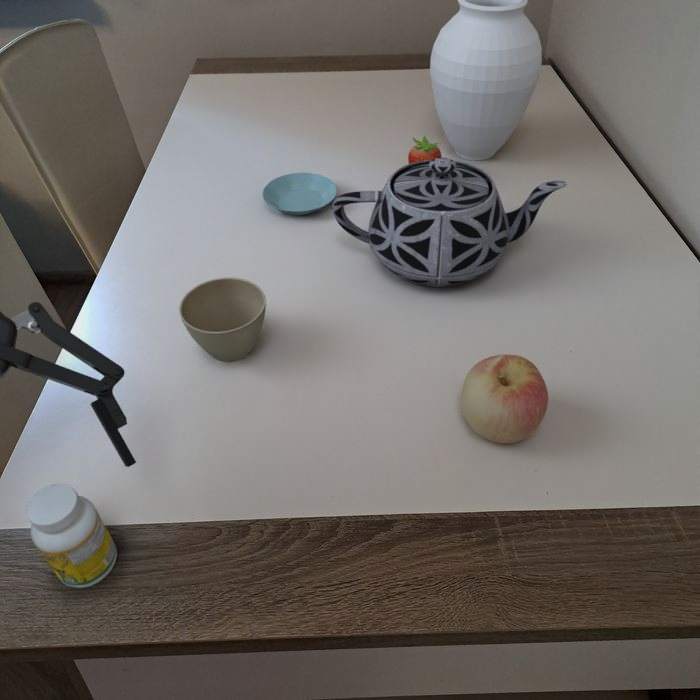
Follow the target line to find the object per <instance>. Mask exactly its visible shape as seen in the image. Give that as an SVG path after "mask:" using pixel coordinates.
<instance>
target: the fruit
mask: <svg viewBox="0 0 700 700" xmlns="http://www.w3.org/2000/svg"><path fill="white" fill-rule="evenodd" d="M412 140H413V142H414V143H415V144H416V145H414V146H413V147H412V148H410V150H409V152H408V157H407V161H408V164H411V163H414V162H418V161H424V160H433V159H436V158H442V152H441V150H440V148H439V146H438V145H439V143H440V141H439V142H433V143H431V142H429V140H428V139H427V137H426V135H423V137H422V141H420V140H417V139H415V137H412Z"/></svg>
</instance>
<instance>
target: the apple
mask: <svg viewBox="0 0 700 700" xmlns="http://www.w3.org/2000/svg"><path fill="white" fill-rule="evenodd" d="M460 404H461V405H460V406H461V412H462V415H463V418H464V419H465V421H466V423H467V424H468V425H469V427H470V428H471V429H472V430H473V431H474V432H475V433H477V434H478V435H479V436H481V437H482V438H484V439H486V440H489V441H490V442H491V441H492V442H494V443H498V444H514V443H517V442H521V441H523V440H524V439H526V438H528V437H530V435H532V434H533V433H534V432H535V431H536V430H537V428H539V426H540V424H541V423H542V422H543V420H544V417H545V415H546V413H547V409H548V406H549V391H548V388H547V385H546V382H545V379H544V376H542V374H541V371H540V370H539V368H538V367H537V366H536V365H535V364H534V363H533V362H532V361H530V360H529V359H527V358H525V357H523V356H521V355H517V354H497V355H492V356H489V357H487V358H484V359H482V360H480V361H478V362H477V363H476V364H475V365H473V367H472V368H471V369H470V370H469V371H468V373H467V375H466V376H465V378H464V379H463V382H462V386H461V392H460Z"/></svg>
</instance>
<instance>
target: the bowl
mask: <svg viewBox="0 0 700 700" xmlns="http://www.w3.org/2000/svg"><path fill="white" fill-rule="evenodd" d="M266 299H267V298H266V295H265V293H264V290H263V289H262V288H261V287H260V286H259V285H258V284H256V283H254V282H253V281H251V280H247V279H245V278H241V277H233V276H231V277H229V276H228V277H217V278H213V279H209V280H205V281H203V282H201V283H198V285H196V286H194V287H192V288H191V289H190V290H189V291H187V292H186V293H185V294H184V296H183V297H182V299H181V301H180V304H179V306H178V307H179V308H178V313H179V316H180V319H181V321H182V323H183V326H184V327H185V329H186V331H187V332H188V334H189V335H190V337H191V338H192V339H193V341H194V342H195V343H196V344H197V345H198V346H199V347H200V348H201V349H202V350H203V351H204V352H206V354H209V355H210V356H211V357H213V358H215V359H217V360H219V361H220V362H221V361H222V362H235V361H239V360H241V359H244V358H245V357H246V356H247V355H248V354H249V353H250V352H251V351H252V349H253V348H254V347H255V344H256V343H257V341H258V339H259V337H260V335H261V333H262V329H263V325H264V322H265V317H266V309H267V307H266V305H267V303H266V302H267V301H266Z"/></svg>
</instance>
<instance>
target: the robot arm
mask: <svg viewBox="0 0 700 700" xmlns="http://www.w3.org/2000/svg"><path fill="white" fill-rule="evenodd" d="M22 329H23V330H27V331H28V332H29V333H31V334H38V333H41V334H42V335H43V336H44V337H45V338H46V339H48V340H49V341H51V342H52V343H53V344H55V345H57V346H58V347H60V348H61V349H63V350H64V351H66V352H67V353H69V354H70V355H72V356H73V357H75V358H76V359H78V360H79V361H81V362H82V363H84V364H85V365H87V366H88V367H90V368H91V369H93V370H94V371H96V372H97V373H99V374H101V375H102V376H103V377H102V378H101V379H98V378H95V377H93V376H89V375H87V374H84V373H82V372H78V371H75V370H73V369H71V368H68V367H65V366H62V365H61V364H57V363H54V362H52V361H49V360H46V359H43V358H41V357H39V356H35V355H33V354H31V353H29V352H26V351H24V350H21V349H18V348H16V344H17V338H18V330H22ZM11 368H15V369H17V370H21V371H23V372H26V373H30V374H33V375H36V376H38V377H41V378H43V379H46V380H50V381H53V382H55V383H57V384H61V385H63V386H66V387H69V388H72V389H75V390H76V391H77V390H78V391H80V392H83V393H86V394H88V395H91V396H94V397H96V400H94V401H92V402H91V403H89V405H90V407H91V408H92V410H93V412H94V413H95V416H96V417H97V419H98V420H99V423H100V425H101V426H102V428H103V430H104V431H105V433H106V435H107V436H108V439H109V440H110V442H111V444H112V446H113V447H114V449H115V451H116V452H117V454H118V456H119V458H120V460H121V461H122V463H123V465H124V467H126V468H130V467H131V466H133V465H136V464H137V460H136V459H135V457H134V456H133V453H132V451H131V450H130V448H129V447H128V445H127V443H126V441H125V439H124V438H123V436H122V434H121V432H120V431H119V429H121V428H123V427H125V426H126V425H128V420H127V417H126V415H125V413H124V411H123V409H122V407H121V406H120V404H119V402H118V401H117V399H116V397H115V395H114V391H113V390H114V387H115V386H116V385H117V384H118V383H119V382H120V381H122V379H123V378H124V377H125V371H126V370H124V368H123V366H121V365H119V364H118V363H116V362H115V361H113V360H112V359H111V358H109V357H108V356H106V355H105V354H103V353H102V352H100V351H99V350H98V349H96V348H94V347H93V346H91V345H90V344H88V343H87V342H86V341H84V340H82V339H81V338H80V337H78V336H77V335H75V334H74V333H72V332H70V331H69V330H67V329H66V328H65V327H63V326H62V325H61V324H59V323H57V322H56V321H55V320H54V319H53V318H52V316H51V315H50V314H49V312H48V311H47V310H46V308H45V307H44V305H43V304H42V303H40V302H38V301H33V302H31V303H30V304H29V305H28V307H27V309H25V310H23V311H21V312H19V313H18V314H16V315H14V316H13V317H12V316H11V318H9V317H8V316H6V315H5V314H4V313H3V312H2V311H1V310H0V379H3V378H4V377H6V375H7V374H8V373H9V372H10V370H11Z"/></svg>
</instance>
